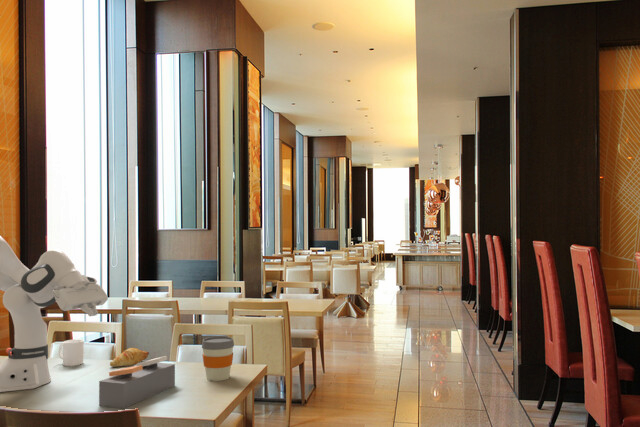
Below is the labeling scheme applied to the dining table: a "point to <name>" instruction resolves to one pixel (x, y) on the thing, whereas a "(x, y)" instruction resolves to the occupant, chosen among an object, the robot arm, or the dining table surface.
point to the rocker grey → (152, 361)
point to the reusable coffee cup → (217, 357)
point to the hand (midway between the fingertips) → (94, 314)
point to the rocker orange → (125, 370)
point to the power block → (136, 385)
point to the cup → (72, 352)
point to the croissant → (129, 357)
